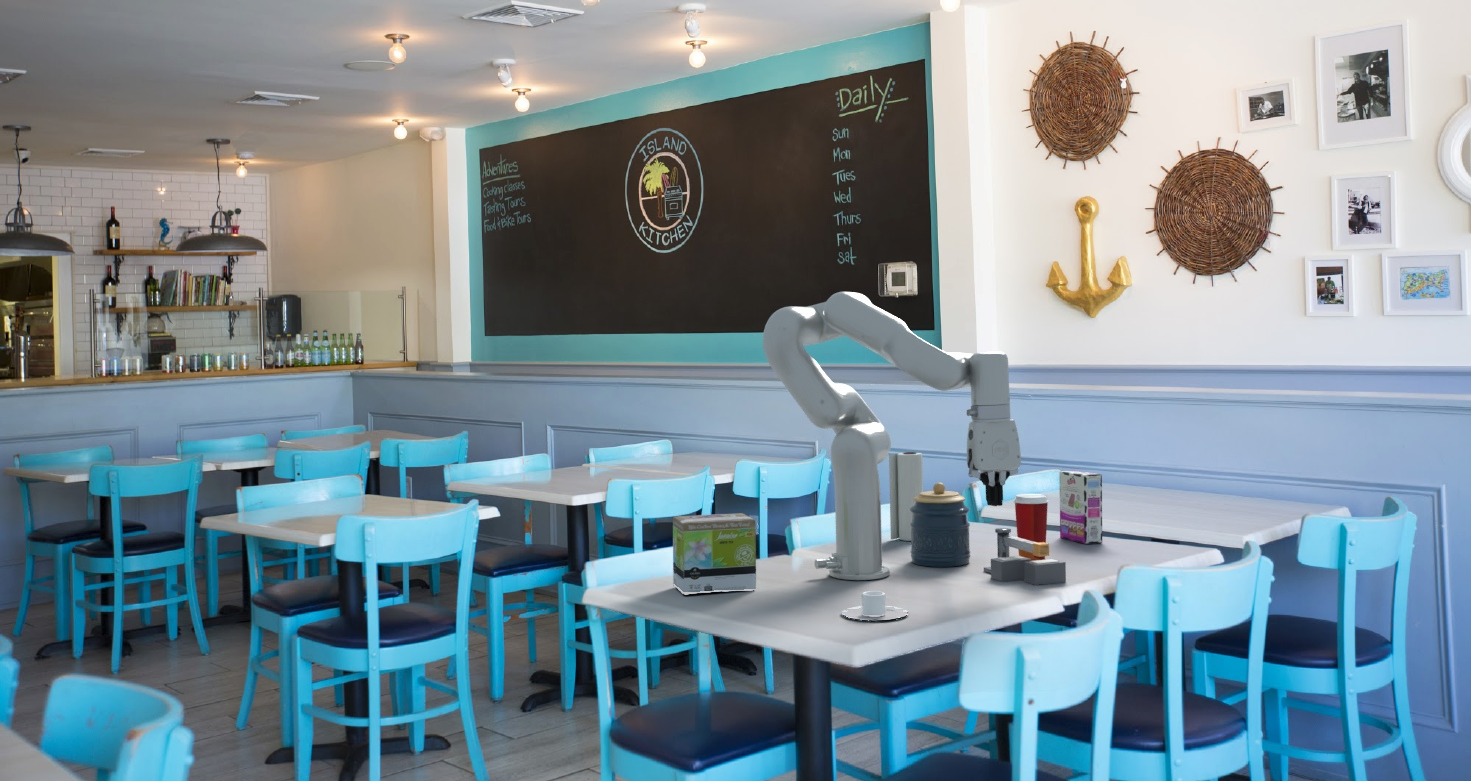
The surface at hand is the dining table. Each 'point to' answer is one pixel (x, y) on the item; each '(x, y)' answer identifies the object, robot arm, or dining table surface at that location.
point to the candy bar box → (1081, 506)
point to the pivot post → (1000, 545)
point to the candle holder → (873, 604)
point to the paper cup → (1031, 520)
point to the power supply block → (1045, 571)
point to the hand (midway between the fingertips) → (994, 505)
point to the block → (1008, 568)
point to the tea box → (714, 552)
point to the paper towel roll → (904, 491)
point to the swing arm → (1027, 545)
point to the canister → (940, 529)
